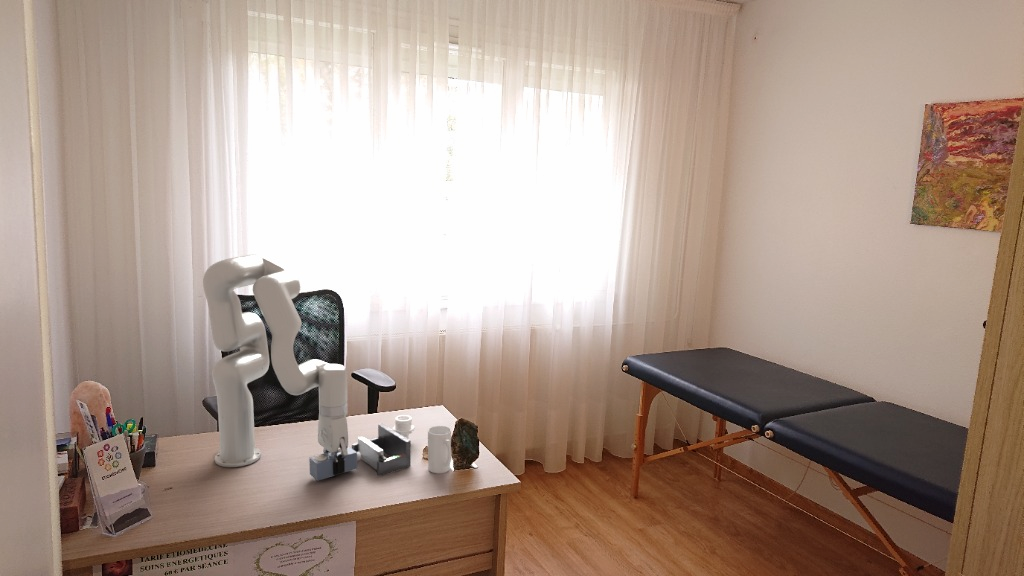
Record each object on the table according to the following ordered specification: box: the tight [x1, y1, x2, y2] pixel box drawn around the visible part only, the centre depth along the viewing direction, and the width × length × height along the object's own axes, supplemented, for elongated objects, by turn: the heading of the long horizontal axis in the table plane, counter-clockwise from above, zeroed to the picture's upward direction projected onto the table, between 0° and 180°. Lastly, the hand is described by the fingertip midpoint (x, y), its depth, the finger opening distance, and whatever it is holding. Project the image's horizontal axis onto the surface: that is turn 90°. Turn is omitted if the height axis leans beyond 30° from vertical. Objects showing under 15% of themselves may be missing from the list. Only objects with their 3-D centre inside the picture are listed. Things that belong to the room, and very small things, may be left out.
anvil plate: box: [357, 436, 387, 471], centre depth 191 cm, size 2×15×6 cm, turn 41°
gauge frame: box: [351, 423, 412, 477], centre depth 194 cm, size 10×16×8 cm, turn 41°
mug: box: [427, 425, 452, 474], centre depth 189 cm, size 10×7×12 cm, turn 34°
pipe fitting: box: [391, 414, 415, 440], centre depth 208 cm, size 6×7×8 cm
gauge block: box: [308, 446, 362, 481], centre depth 185 cm, size 5×14×5 cm, turn 131°
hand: (334, 469), depth 185 cm, fingers closed on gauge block, 4 cm apart
